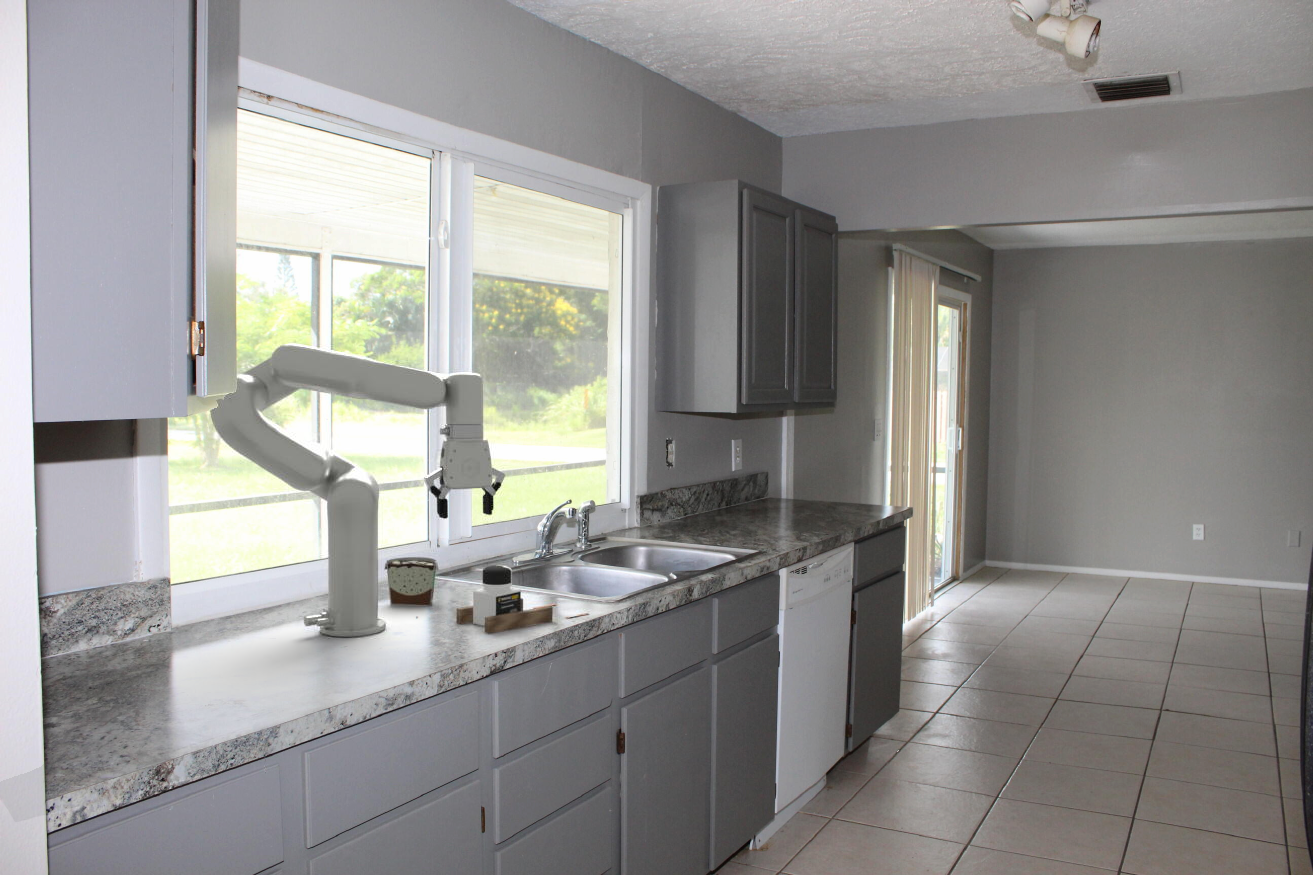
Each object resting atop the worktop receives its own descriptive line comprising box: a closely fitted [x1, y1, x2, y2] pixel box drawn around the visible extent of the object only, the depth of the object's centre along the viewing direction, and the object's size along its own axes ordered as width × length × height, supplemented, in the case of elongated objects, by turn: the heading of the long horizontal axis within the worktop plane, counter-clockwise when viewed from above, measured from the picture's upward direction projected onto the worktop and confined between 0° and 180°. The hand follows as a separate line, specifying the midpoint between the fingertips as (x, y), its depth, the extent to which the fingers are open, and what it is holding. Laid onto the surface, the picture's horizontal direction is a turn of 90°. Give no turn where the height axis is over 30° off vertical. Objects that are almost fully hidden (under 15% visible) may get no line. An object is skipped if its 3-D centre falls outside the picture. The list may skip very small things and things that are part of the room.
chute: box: [455, 597, 554, 635], centre depth 200 cm, size 16×12×3 cm
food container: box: [383, 556, 440, 607], centre depth 217 cm, size 12×6×10 cm, turn 84°
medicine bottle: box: [472, 564, 522, 627], centre depth 199 cm, size 7×7×12 cm
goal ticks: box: [533, 603, 590, 619], centre depth 211 cm, size 6×12×1 cm, turn 44°
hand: (465, 515), depth 196 cm, fingers open, 9 cm apart
